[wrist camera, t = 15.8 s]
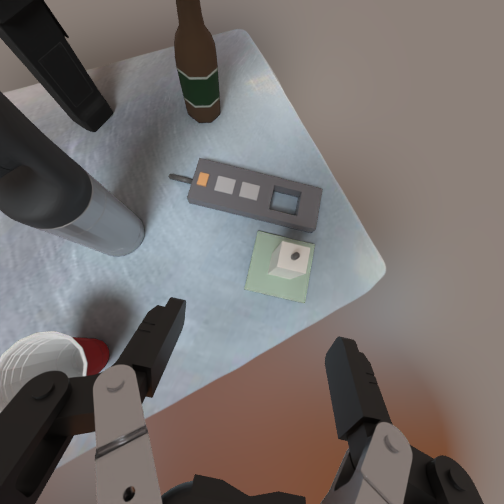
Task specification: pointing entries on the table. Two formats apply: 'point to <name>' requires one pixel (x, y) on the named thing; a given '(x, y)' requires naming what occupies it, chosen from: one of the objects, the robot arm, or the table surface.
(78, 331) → the table surface
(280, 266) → the block
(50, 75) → the portable radio
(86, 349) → the plastic cup
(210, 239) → the table surface
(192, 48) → the beer bottle
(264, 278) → the mat
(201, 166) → the power strip
